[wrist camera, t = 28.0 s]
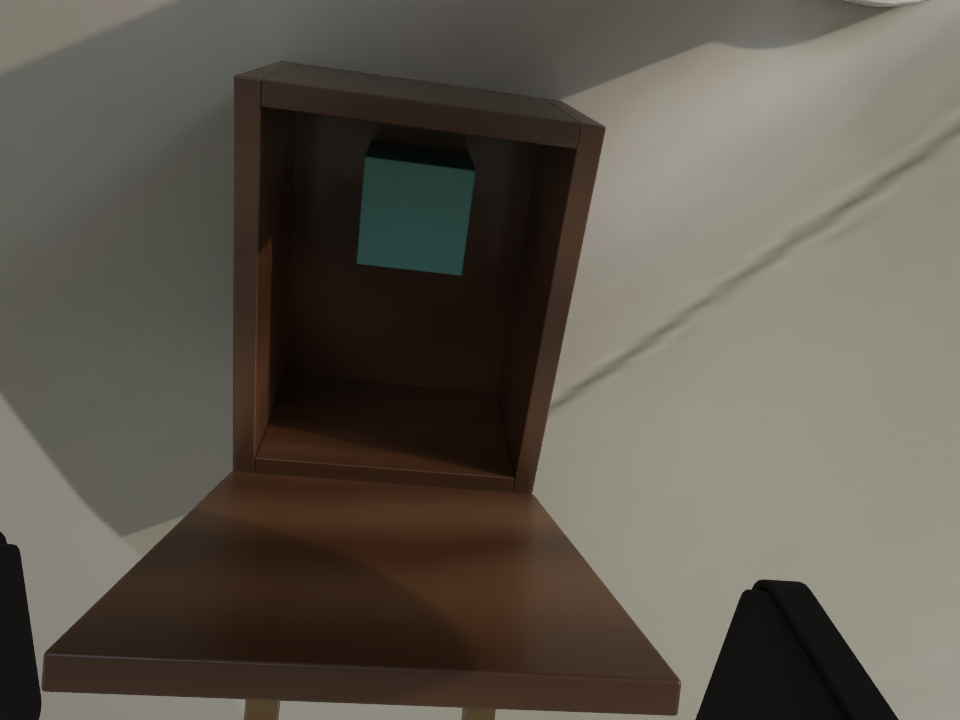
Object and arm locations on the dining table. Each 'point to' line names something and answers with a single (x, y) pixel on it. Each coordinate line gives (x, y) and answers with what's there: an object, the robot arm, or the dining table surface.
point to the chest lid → (365, 607)
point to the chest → (399, 282)
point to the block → (415, 207)
